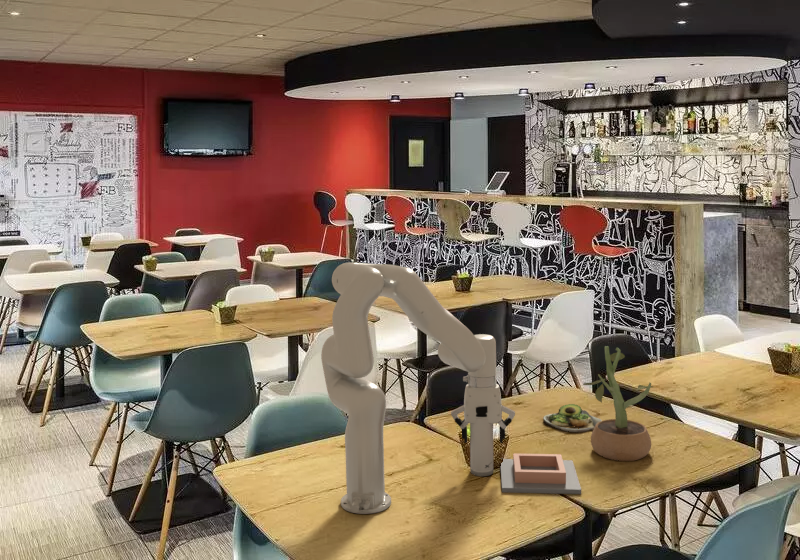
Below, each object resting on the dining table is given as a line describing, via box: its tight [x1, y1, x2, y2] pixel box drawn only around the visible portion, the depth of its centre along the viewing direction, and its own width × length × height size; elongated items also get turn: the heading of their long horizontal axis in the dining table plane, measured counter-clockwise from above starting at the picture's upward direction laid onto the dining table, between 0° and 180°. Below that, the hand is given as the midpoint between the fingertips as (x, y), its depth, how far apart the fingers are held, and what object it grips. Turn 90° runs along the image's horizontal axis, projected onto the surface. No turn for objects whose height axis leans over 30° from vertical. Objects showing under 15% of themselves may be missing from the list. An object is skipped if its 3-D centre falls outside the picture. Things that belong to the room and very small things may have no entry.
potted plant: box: [582, 345, 654, 462], centre depth 228 cm, size 22×18×30 cm
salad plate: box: [542, 403, 603, 433], centre depth 252 cm, size 19×18×5 cm
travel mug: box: [469, 406, 494, 477], centre depth 213 cm, size 6×7×20 cm
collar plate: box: [500, 453, 582, 495], centre depth 210 cm, size 20×20×4 cm
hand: (483, 441), depth 213 cm, fingers open, 9 cm apart
